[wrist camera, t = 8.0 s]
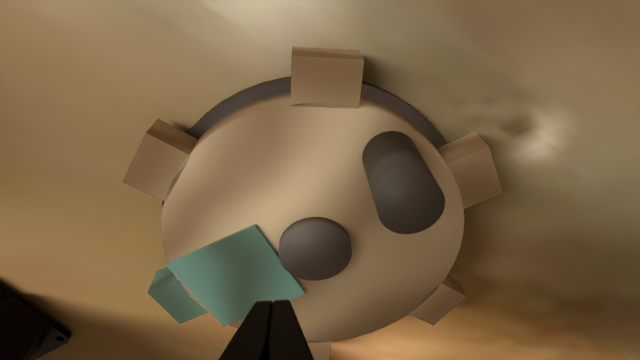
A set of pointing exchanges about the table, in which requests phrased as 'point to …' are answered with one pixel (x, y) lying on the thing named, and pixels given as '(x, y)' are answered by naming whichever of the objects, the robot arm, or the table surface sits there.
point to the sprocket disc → (312, 207)
